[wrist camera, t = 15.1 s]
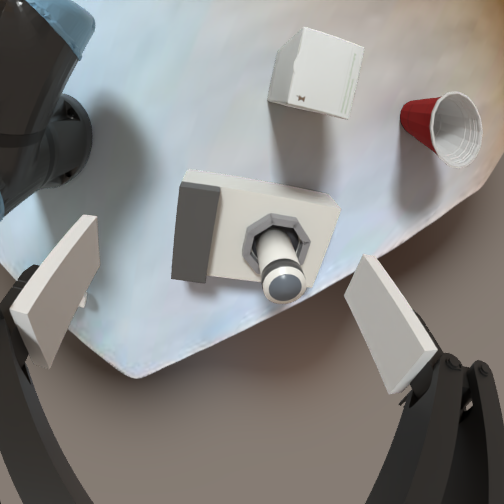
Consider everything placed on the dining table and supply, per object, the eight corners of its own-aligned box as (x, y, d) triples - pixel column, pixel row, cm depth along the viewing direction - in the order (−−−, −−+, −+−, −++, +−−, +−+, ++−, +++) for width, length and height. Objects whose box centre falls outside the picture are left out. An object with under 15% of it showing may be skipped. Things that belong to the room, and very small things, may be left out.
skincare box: (308, 111, 38) (350, 125, 25) (263, 100, 37) (283, 107, 24) (320, 58, 34) (369, 48, 21) (275, 46, 33) (303, 25, 20)
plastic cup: (444, 102, 37) (492, 115, 27) (426, 156, 43) (470, 179, 32) (397, 73, 35) (445, 76, 25) (378, 132, 40) (421, 151, 30)
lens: (251, 256, 43) (258, 303, 34) (259, 225, 41) (269, 267, 32) (285, 261, 44) (299, 306, 35) (294, 230, 41) (312, 272, 33)
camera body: (178, 250, 48) (171, 278, 42) (187, 168, 42) (179, 186, 35) (303, 266, 52) (314, 295, 46) (328, 193, 45) (346, 215, 39)
